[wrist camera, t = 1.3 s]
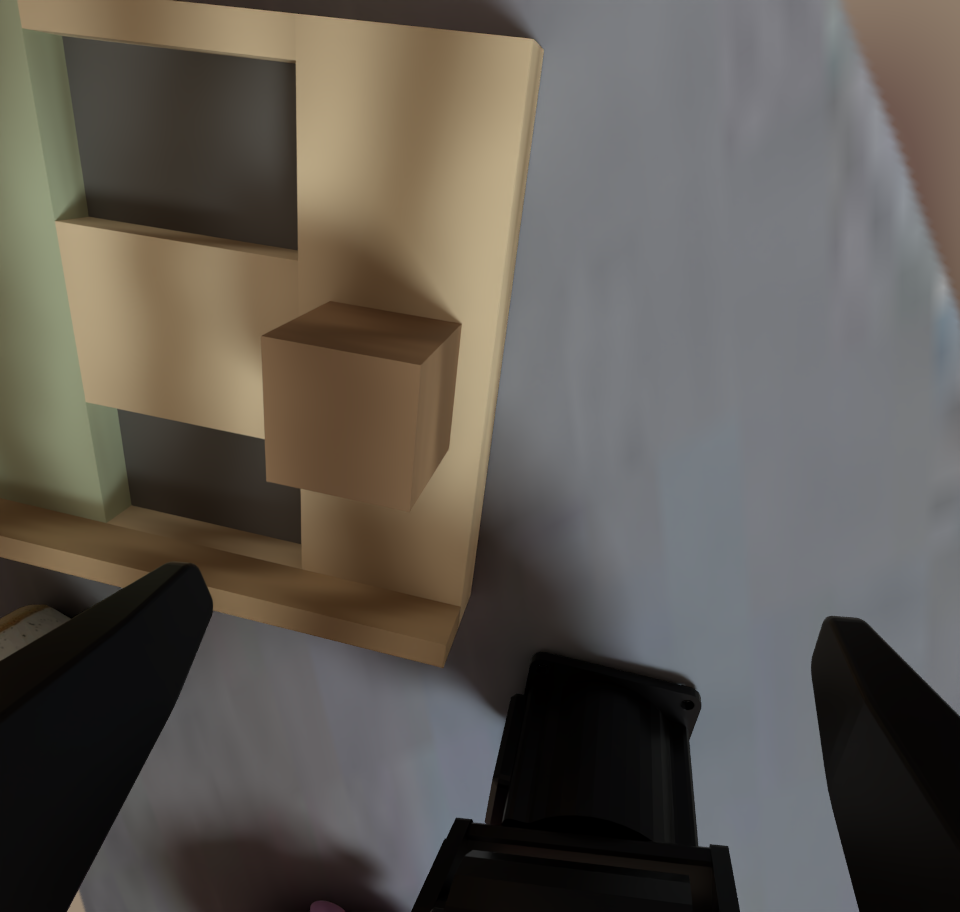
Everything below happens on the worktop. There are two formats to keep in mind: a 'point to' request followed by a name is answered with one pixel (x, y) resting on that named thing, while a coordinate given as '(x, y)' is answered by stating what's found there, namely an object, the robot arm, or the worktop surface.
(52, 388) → the track
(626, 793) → the robot arm
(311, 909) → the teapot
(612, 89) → the worktop surface
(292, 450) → the walnut block
